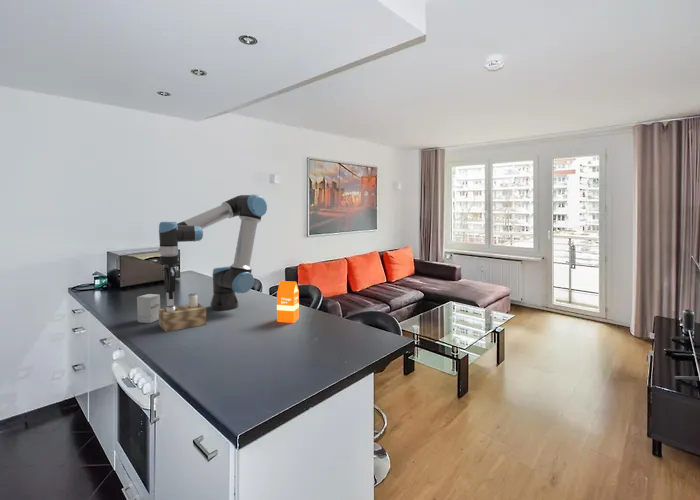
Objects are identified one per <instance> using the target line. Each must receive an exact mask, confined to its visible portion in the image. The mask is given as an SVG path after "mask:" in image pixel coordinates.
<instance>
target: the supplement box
mask: <svg viewBox="0 0 700 500" xmlns="http://www.w3.org/2000/svg"><path fill="white" fill-rule="evenodd" d="M136 305H137V310H136V311H137V323H145V324H151V323H153V322H156V321H159V309H161V295H160V294H154V293H153V294H152V293H146V294H144V295H139V296H137V297H136Z"/></svg>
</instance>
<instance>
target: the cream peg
mask: <svg viewBox="0 0 700 500" xmlns="http://www.w3.org/2000/svg"><path fill="white" fill-rule="evenodd" d="M198 302H199V299H198V294H197V293H195V292H194V293H189V294H188V305H189V309H192V308H198V304H199V303H198Z"/></svg>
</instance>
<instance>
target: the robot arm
mask: <svg viewBox="0 0 700 500" xmlns="http://www.w3.org/2000/svg"><path fill="white" fill-rule="evenodd" d="M267 211H268V204H267V201H266V200H265V198H264V197H263V196H261V195H260V194H241V195H237V196H234V197H232V198H230V199H228V200H226V201H223V202H221V204H220V205H218V206H216V207H214V208H211V209H209V210H207V211H205V212H202V213H199V214H197V215H195V216H192V217H190V218H187V219H186V220H183V221H180V222H178V223H177V221H161V222H160V223H159V225H158V237H159V248H157V249H158V251H159V255H160V256H159V263H160V265H164V267H163V277H164V279H163V280H164V289H165V294H166V305H167V306H174V305H175V292H176V276H177V272H176V268H175V266H174V265H177V264H178V263H179V256H178V255H179V243H181V242H187V243H188V242H200V241H201V240H203V238H204V231H203V229H205V228H208V227H210V226H212V225H215V224H216V223H219V222H221V221H223V220H226V219H232V218H235V217H239V219H240V220H241V221H240V226H239V232H238V236H237V237H238V238H237V242H236V248H235V253H234V258H233V263H232V264H231V265H230V266H220V267H213V269H212V288H213V290H212V292H213V293H212V298H211V300H210V309H211V310H213V311H228V310H233V309H236V308H238V307H239V301H238V297H237V296H236V295H237V294H245V293H246V294H247V293H248V292H249V291H250V290H252V288H253V286H254V284H255V278H254V275H253V273H252V271H253V269H252V268H251V266H250V265H251V261H252V255H253V249H254V244H255V243H254V242H255V239H256V238H255V237H256V234H257V233H256V231H257V227H258V223H260V222H261V219H262V217H263V216H265V214H266V213H267ZM236 293H237V294H236ZM167 306H166V307H167Z"/></svg>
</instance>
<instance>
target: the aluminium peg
mask: <svg viewBox="0 0 700 500" xmlns="http://www.w3.org/2000/svg"><path fill="white" fill-rule="evenodd" d="M176 306H177V305H175V304H174V306H166V307H165V308H166V312H171V311H176Z"/></svg>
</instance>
